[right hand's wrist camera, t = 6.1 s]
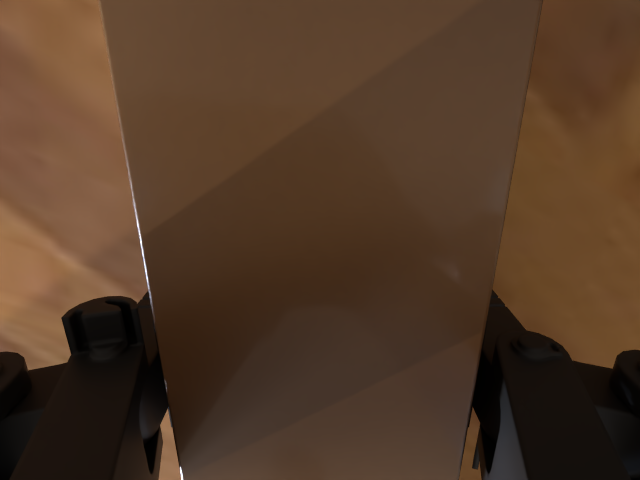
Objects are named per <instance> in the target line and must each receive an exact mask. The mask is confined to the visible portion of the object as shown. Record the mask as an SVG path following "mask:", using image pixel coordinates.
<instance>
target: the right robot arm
mask: <svg viewBox="0 0 640 480" xmlns="http://www.w3.org/2000/svg"><path fill="white" fill-rule="evenodd" d="M62 322H63V326H64V329H65V333H66V337H67V340H68V344H69V348H70V351H71V356H70V358H69V360H68V362H67V363H63V364H59V365H54V366H49V367H44V368H39V369H34V370H29V371H28V369H27V366H26V362H25V359H24V357H22V356H21V355H20V354H18V353H13V352H0V480H158V478H159V470H160V462H161V454H162V445H163V440H162V433H161V428H160V424H161V422H162V420H163V417H164V415H165V413H166V411H167V409H168V411H169V416H170V410H169V405H168V399H167V393H166V387H165V382H164V376H163V370H162V365H161V359H160V353H159V348H158V342H157V336H156V330H155V325H154V319H153V313H152V308H151V302H150V296H149V290H148V292H147V293H146V294H145V295H144V297H143V300H140V301H139V303H138V304H137V302H136V301H134V300H133V299H131V298H128V297H123V296H107V297H102V298H97V299H93V300H90V301H87V302H84V303H82V304H79V305H77V306H76V307H74V308H72V309H70V310H69V311H68V312H67V313H66V314H65V315H64V316H63V317H62ZM472 406H473V408H474V410H475V413H476V415H477V417H478V419H479V421H480V428H479V433H478V438H477V444H476V449H475V454H474V459H473V466H472V468H473V469H478V465H479V461H480V469H481V477H482V480H640V350H629V351H623V352H622V353H620V354H619V355H617V357H616V360H615V364H614V367H613V369H611V368H606V367H601V366H595V365H590V364H585V363H580V362H576V361H572V360H571V357H570V355H569V354H568V352H567V351H566V350H565V349H564V348H563V346H562V345H560V344H559V343H557V342H556V341H554V340H553V339H551V338H549V337H546V336H544V335H541V334H539V333H535V332H531V331H526V330H525V328H524V327H523V326H522V325H521V324H520V322H519V321H518V320H517V319H516V318H515V316H514V315H513V314H512V313H511V311H510V310H509V309H508V308H507V307H505V304H504V303H503V302H502V301H501V299H500V298H498V296H497V295H496V293H495V292H494V291H493V290H492V293H491V298H490V304H489V310H488V315H487V321H486V327H485V332H484V338H483V344H482V350H481V355H480V361H479V367H478V372H477V378H476V384H475V389H474V395H473V401H472ZM471 412H472V407H471ZM471 412H470V418H471ZM470 418H469V423H470ZM170 422H171V416H170ZM171 427H172V422H171ZM468 427H469V424H468Z"/></svg>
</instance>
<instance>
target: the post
mask: <svg viewBox="0 0 640 480" xmlns="http://www.w3.org/2000/svg"><path fill="white" fill-rule="evenodd" d="M542 2H543V0H98V5H99V11H100V16H101V22H102V28H103V33H104V39H105V45H106V51H107V56H108V62H109V68H110V73H111V79H112V85H113V91H114V96H115V102H116V108H117V113H118V119H119V125H120V131H121V136H122V142H123V148H124V153H125V159H126V165H127V171H128V176H129V182H130V188H131V193H132V199H133V205H134V210H135V216H136V222H137V228H138V233H139V239H140V245H141V250H142V256H143V262H144V268H145V273H146V279H147V285H148V290H149V296H150V302H151V308H152V313H153V319H154V325H155V330H156V336H157V342H158V348H159V353H160V359H161V365H162V370H163V376H164V382H165V387H166V393H167V399H168V405H169V410H170V416H171V422H172V427H173V433H174V439H175V445H176V450H177V456H178V462H179V467H180V473H181V479H182V480H459V475H460V469H461V463H462V458H463V452H464V446H465V441H466V435H467V429H468V424H469V418H470V412H471V407H472V401H473V395H474V389H475V384H476V378H477V372H478V367H479V361H480V355H481V350H482V344H483V338H484V332H485V327H486V321H487V315H488V310H489V304H490V298H491V293H492V287H493V281H494V276H495V270H496V264H497V258H498V253H499V247H500V241H501V236H502V230H503V224H504V219H505V213H506V207H507V201H508V196H509V190H510V184H511V179H512V173H513V167H514V162H515V156H516V150H517V145H518V139H519V133H520V127H521V122H522V116H523V110H524V105H525V99H526V93H527V88H528V82H529V76H530V70H531V65H532V59H533V53H534V48H535V42H536V36H537V31H538V25H539V19H540V14H541V8H542Z"/></svg>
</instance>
